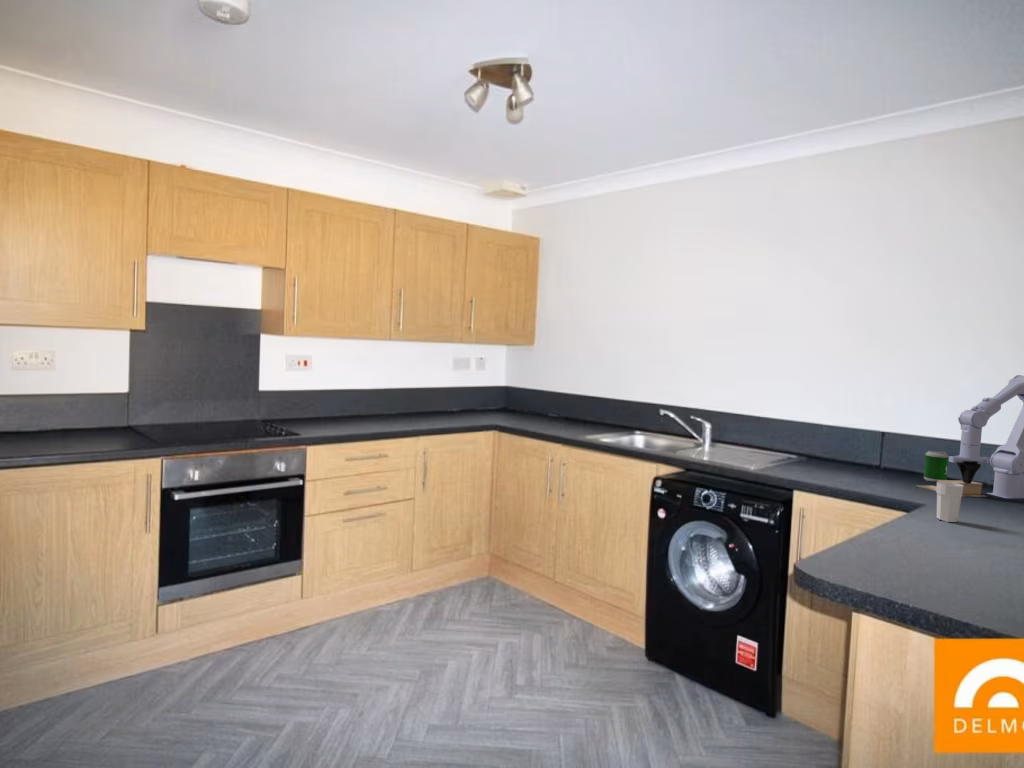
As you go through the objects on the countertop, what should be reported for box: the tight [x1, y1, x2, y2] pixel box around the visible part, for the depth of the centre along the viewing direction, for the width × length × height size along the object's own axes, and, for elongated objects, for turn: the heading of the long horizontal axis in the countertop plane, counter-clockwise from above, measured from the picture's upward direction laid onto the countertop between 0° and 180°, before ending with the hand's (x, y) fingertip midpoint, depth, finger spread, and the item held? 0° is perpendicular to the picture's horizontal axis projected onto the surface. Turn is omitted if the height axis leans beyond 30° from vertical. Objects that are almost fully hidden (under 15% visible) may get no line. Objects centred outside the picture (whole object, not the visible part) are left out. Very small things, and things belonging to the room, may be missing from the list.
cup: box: [936, 482, 964, 523], centre depth 192 cm, size 7×7×11 cm
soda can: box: [923, 450, 949, 483], centre depth 256 cm, size 8×8×12 cm
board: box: [915, 484, 989, 498], centre depth 236 cm, size 14×17×1 cm
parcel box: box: [938, 481, 983, 495], centre depth 233 cm, size 12×6×4 cm, turn 99°
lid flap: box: [938, 479, 984, 486], centre depth 233 cm, size 12×6×1 cm, turn 99°
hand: (967, 482), depth 230 cm, fingers closed
